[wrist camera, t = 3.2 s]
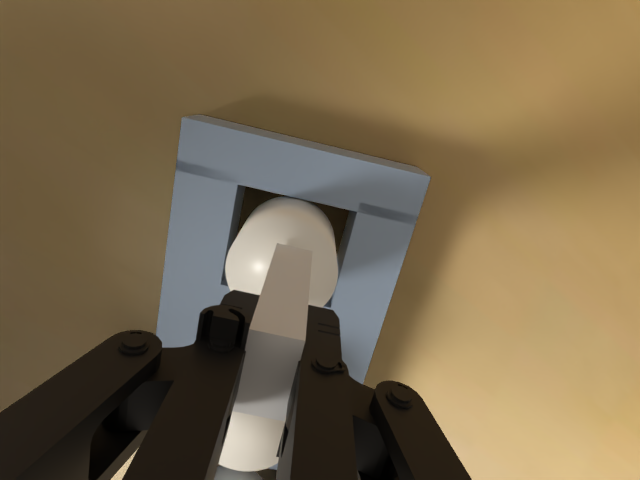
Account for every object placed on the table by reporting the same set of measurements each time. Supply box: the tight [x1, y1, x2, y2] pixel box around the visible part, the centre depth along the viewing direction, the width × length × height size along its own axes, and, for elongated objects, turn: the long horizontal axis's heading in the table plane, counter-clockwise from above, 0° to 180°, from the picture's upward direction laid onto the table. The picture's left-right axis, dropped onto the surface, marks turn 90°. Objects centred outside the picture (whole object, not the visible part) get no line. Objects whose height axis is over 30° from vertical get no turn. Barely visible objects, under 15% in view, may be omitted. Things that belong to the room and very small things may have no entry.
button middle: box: [218, 411, 286, 471], centre depth 22 cm, size 5×5×4 cm
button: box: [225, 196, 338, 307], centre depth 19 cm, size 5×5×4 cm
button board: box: [156, 114, 431, 470], centre depth 25 cm, size 28×12×3 cm, turn 167°
